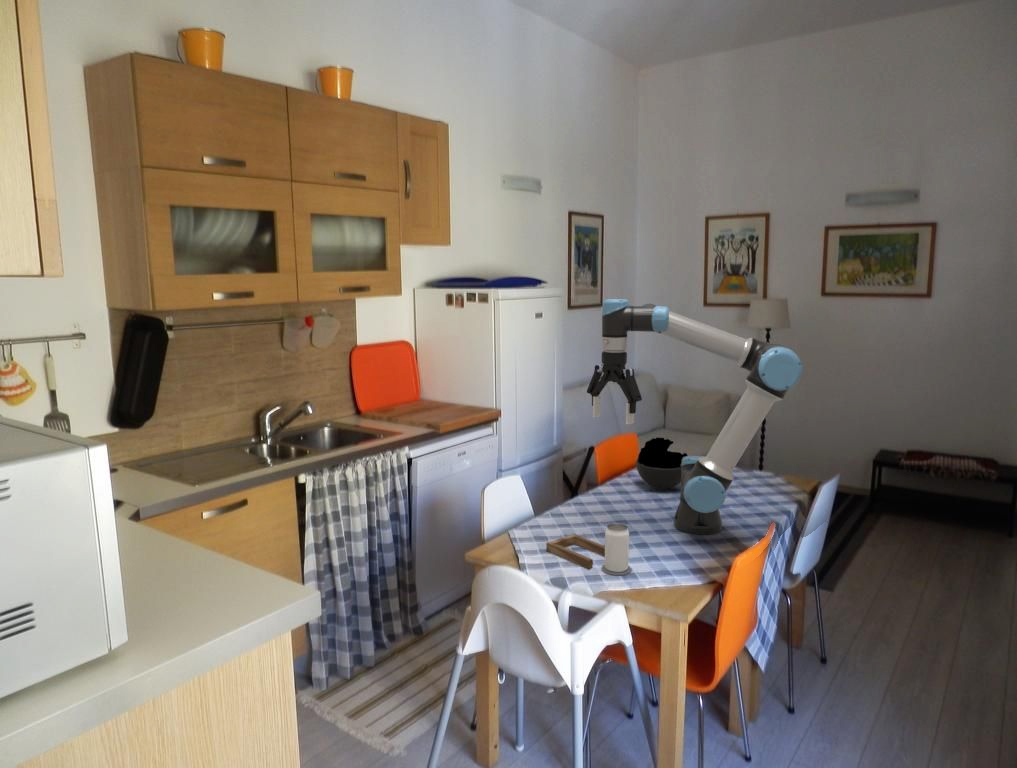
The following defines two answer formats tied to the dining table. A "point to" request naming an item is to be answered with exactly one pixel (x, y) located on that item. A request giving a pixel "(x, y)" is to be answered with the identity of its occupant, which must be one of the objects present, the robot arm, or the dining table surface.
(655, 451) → the coal bowl
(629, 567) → the felt pad
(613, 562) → the can
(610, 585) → the dining table surface
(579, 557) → the u-shaped wooden frame
